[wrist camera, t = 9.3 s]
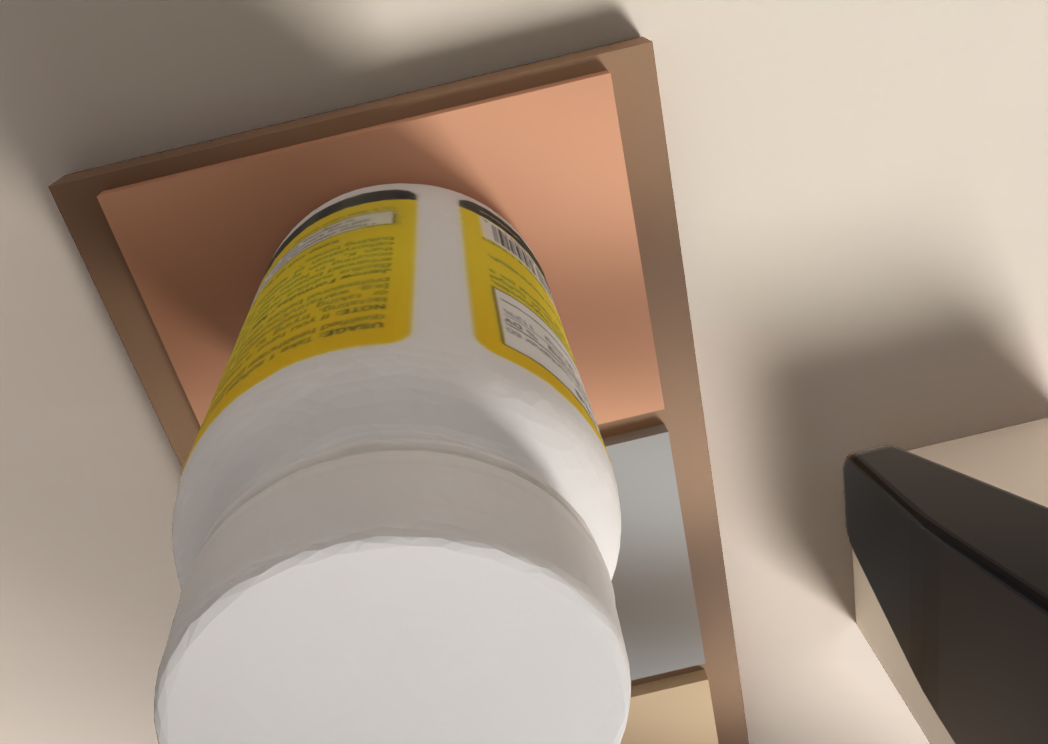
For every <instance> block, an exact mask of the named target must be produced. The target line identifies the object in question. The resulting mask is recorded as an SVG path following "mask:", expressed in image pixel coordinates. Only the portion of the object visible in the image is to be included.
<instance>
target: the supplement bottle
mask: <svg viewBox="0 0 1048 744" xmlns="http://www.w3.org/2000/svg"><path fill="white" fill-rule="evenodd" d="M172 538H173V554H174V560H175V565H176V570H177V574H178V578H179V582H180V585H181V589H182V593H181V597H180V602H179V605H178V608H177V611H176V614H175V617H174V620H173V624H172V627H171V631H170V635H169V638H168V642H167V645H166V648H165V651H164V654H163V657H162V661H161V664H160V667H159V670H158V676H157V681H156V687H155V698H154V722H155V729H156V734H157V738H158V743H159V744H620V742H621V739H622V737H623V734H624V731H625V727H626V723H627V719H628V714H629V707H630V698H631V678H630V668H629V660H628V656H627V652H626V648H625V643H624V639H623V635H622V631H621V627H620V622H619V618H618V614H617V610H616V605H615V595H614V590H613V585H612V582H611V581H612V578H613V575H614V572H615V569H616V565H617V560H618V555H619V550H620V539H621V510H620V503H619V496H618V489H617V483H616V479H615V476H614V472H613V468H612V464H611V461H610V459H609V456H608V453H607V450H606V447H605V445H604V442H603V439H602V437H601V434H600V431H599V428H598V425H597V423H596V420H595V417H594V414H593V411H592V408H591V406H590V403H589V400H588V397H587V394H586V391H585V388H584V386H583V383H582V380H581V377H580V375H579V372H578V369H577V366H576V363H575V360H574V358H573V354H572V352H571V349H570V346H569V343H568V340H567V337H566V335H565V332H564V329H563V326H562V323H561V320H560V317H559V315H558V312H557V309H556V306H555V304H554V301H553V298H552V296H551V292H550V289H549V286H548V283H547V281H546V278H545V275H544V272H543V270H542V268H541V266H540V264H539V262H538V260H537V258H536V257H535V255H534V253H533V252H532V250H531V249H530V247H529V246H528V244H527V243H526V241H525V240H524V239H523V238H522V236H521V235H520V234H519V233H518V232H517V231H516V230H515V229H514V228H513V227H512V226H511V225H510V224H509V223H508V222H507V221H506V220H505V219H504V218H503V217H501V216H500V215H499V214H497V213H496V212H494V211H493V210H492V209H490V208H489V207H487V206H486V205H484V204H482V203H480V202H478V201H476V200H475V199H473V198H470V197H468V196H466V195H464V194H461V193H458V192H455V191H452V190H449V189H445V188H441V187H437V186H431V185H424V184H407V183H395V184H384V185H375V186H370V187H366V188H361V189H357V190H354V191H351V192H348V193H345V194H343V195H341V196H338V197H336V198H334V199H332V200H330V201H328V202H327V203H325V204H323V205H322V206H320V207H319V208H317V209H315V210H314V211H312V212H311V213H310V214H309V215H307V216H306V217H305V218H304V219H303V220H302V221H301V222H299V223H298V224H297V225H296V226H295V227H294V228H293V229H292V230H291V232H290V233H289V234H288V235H287V237H286V238H285V239H284V240H283V242H282V243H281V245H280V246H279V248H278V249H277V251H276V253H275V254H274V256H273V258H272V260H271V262H270V264H269V265H268V267H267V269H266V272H265V274H264V276H263V279H262V281H261V284H260V286H259V289H258V291H257V293H256V295H255V298H254V300H253V303H252V305H251V308H250V310H249V313H248V315H247V317H246V320H245V322H244V324H243V327H242V329H241V331H240V334H239V336H238V339H237V341H236V344H235V346H234V349H233V351H232V354H231V356H230V358H229V361H228V363H227V365H226V368H225V370H224V372H223V375H222V377H221V379H220V382H219V384H218V387H217V389H216V392H215V394H214V397H213V399H212V402H211V404H210V406H209V409H208V411H207V414H206V416H205V418H204V421H203V423H202V425H201V427H200V430H199V432H198V434H197V436H196V439H195V442H194V445H193V447H192V449H191V451H190V454H189V456H188V458H187V460H186V463H185V465H184V468H183V471H182V475H181V478H180V482H179V486H178V491H177V497H176V502H175V508H174V515H173V526H172Z"/></svg>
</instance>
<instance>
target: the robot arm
mask: <svg viewBox="0 0 1048 744" xmlns="http://www.w3.org/2000/svg"><path fill="white" fill-rule="evenodd" d="M843 476H844V495H845V515H846V528H847V533H848V537H849V541H850V543H851V546H852V549H853V551H854V553H855V555H856V557H857V559H858V561H859V563H860V565H861V567H862V569H863V571H864V574H865V576H866V578H867V580H868V582H869V584H870V586H871V588H872V590H873V592H874V594H875V596H876V598H877V600H878V602H879V604H880V606H881V608H882V610H883V612H884V614H885V616H886V618H887V620H888V622H889V625H890V627H891V629H892V631H893V633H894V635H895V637H896V639H897V641H898V643H899V645H900V647H901V649H902V651H903V653H904V655H905V657H906V659H907V661H908V663H909V665H910V667H911V669H912V671H913V673H914V675H915V677H916V679H917V681H918V683H919V685H920V687H921V689H922V691H923V692H924V694H925V696H926V697H927V699H928V701H929V702H930V704H931V706H932V707H933V709H934V711H935V712H936V714H937V716H938V717H939V719H940V721H941V722H942V724H943V725H944V727H945V728H946V730H947V732H948V733H949V735H950V736H951V738H952V739H953V741H954V742H955V744H1048V507H1046V506H1043V505H1041V504H1038V503H1036V502H1033V501H1031V500H1028V499H1026V498H1023V497H1021V496H1018V495H1016V494H1013V493H1011V492H1008V491H1006V490H1003V489H1001V488H998V487H996V486H993V485H991V484H988V483H986V482H983V481H981V480H978V479H976V478H973V477H971V476H968V475H966V474H963V473H961V472H958V471H956V470H953V469H951V468H948V467H946V466H943V465H941V464H938V463H936V462H933V461H931V460H928V459H926V458H923V457H921V456H918V455H916V454H913V453H911V452H908V451H906V450H903V449H901V448H898V447H895V446H892V445H883V446H878V447H874V448H870V449H866V450H861V451H857V452H853V453H850V454H849V455H848V456H847V457H846V459H845V462H844V466H843Z"/></svg>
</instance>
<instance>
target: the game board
mask: <svg viewBox="0 0 1048 744" xmlns="http://www.w3.org/2000/svg"><path fill="white" fill-rule="evenodd" d="M395 183H407V184H424V185H431V186H437V187H441V188H445V189H449V190H452V191H455V192H458V193H461V194H464V195H466V196H468V197H470V198H473V199H475V200H476V201H478V202H480V203H482V204H484V205H486V206H487V207H489V208H490V209H492V210H493V211H494V212H496V213H497V214H499V215H500V216H501V217H503V218H504V219H505V220H506V221H507V222H508V223H509V224H510V225H511V226H512V227H513V228H514V229H515V230H516V231H517V232H518V233H519V234H520V235H521V236H522V238H523V239H524V240H525V241H526V243H527V244H528V246H529V247H530V249H531V250H532V252H533V253H534V255H535V257H536V258H537V260H538V262H539V264H540V266H541V268H542V270H543V272H544V275H545V278H546V281H547V283H548V286H549V289H550V292H551V296H552V298H553V301H554V304H555V306H556V309H557V312H558V315H559V317H560V320H561V323H562V326H563V329H564V332H565V335H566V337H567V340H568V343H569V346H570V349H571V352H572V354H573V358H574V360H575V363H576V366H577V369H578V372H579V375H580V377H581V380H582V383H583V386H584V388H585V391H586V394H587V397H588V400H589V403H590V406H591V408H592V411H593V414H594V417H595V420H596V423H597V425H598V428H599V431H600V434H601V437H602V439H603V442H604V445H605V447H606V450H607V453H608V456H609V459H610V461H611V464H612V468H613V472H614V476H615V479H616V483H617V489H618V496H619V503H620V510H621V539H620V550H619V555H618V560H617V565H616V569H615V572H614V575H613V578H612V581H611V582H612V585H613V590H614V595H615V605H616V610H617V614H618V618H619V622H620V627H621V631H622V635H623V639H624V643H625V648H626V652H627V656H628V660H629V668H630V678H631V698H630V707H629V714H628V719H627V723H626V727H625V731H624V734H623V737H622V739H621V742H620V744H749V742H748V735H747V728H746V720H745V713H744V706H743V698H742V691H741V684H740V677H739V669H738V662H737V655H736V647H735V640H734V633H733V626H732V618H731V611H730V604H729V597H728V589H727V582H726V575H725V567H724V560H723V553H722V546H721V538H720V531H719V524H718V516H717V509H716V502H715V495H714V487H713V480H712V473H711V465H710V458H709V451H708V444H707V436H706V429H705V422H704V415H703V407H702V400H701V393H700V385H699V378H698V371H697V364H696V356H695V349H694V342H693V334H692V327H691V320H690V313H689V305H688V298H687V291H686V284H685V276H684V269H683V262H682V254H681V247H680V240H679V233H678V225H677V218H676V211H675V203H674V196H673V189H672V182H671V174H670V167H669V160H668V153H667V145H666V138H665V131H664V123H663V116H662V109H661V102H660V94H659V87H658V80H657V72H656V65H655V58H654V51H653V43H652V41H650V40H648V39H646V38H644V37H639V38H634V39H630V40H626V41H622V42H618V43H614V44H610V45H605V46H601V47H597V48H593V49H589V50H585V51H580V52H576V53H572V54H568V55H564V56H560V57H555V58H551V59H547V60H543V61H539V62H535V63H531V64H526V65H522V66H518V67H514V68H510V69H506V70H501V71H497V72H493V73H489V74H485V75H481V76H476V77H472V78H468V79H464V80H460V81H456V82H451V83H447V84H443V85H439V86H435V87H431V88H427V89H422V90H418V91H414V92H410V93H406V94H402V95H397V96H393V97H389V98H385V99H381V100H377V101H372V102H368V103H364V104H360V105H356V106H352V107H348V108H343V109H339V110H335V111H331V112H327V113H323V114H318V115H314V116H310V117H306V118H302V119H298V120H293V121H289V122H285V123H281V124H277V125H273V126H268V127H264V128H260V129H256V130H252V131H248V132H244V133H239V134H235V135H231V136H227V137H223V138H219V139H214V140H210V141H206V142H202V143H198V144H194V145H189V146H185V147H181V148H177V149H173V150H169V151H165V152H160V153H156V154H152V155H148V156H144V157H140V158H135V159H131V160H127V161H123V162H119V163H115V164H110V165H106V166H102V167H98V168H94V169H90V170H86V171H81V172H77V173H73V174H69V175H65V176H64V177H62V178H61V179H59V180H58V181H56V182H55V183H53V184H52V185H50V186H49V189H50V191H51V193H52V195H53V197H54V199H55V202H56V204H57V206H58V208H59V210H60V212H61V214H62V216H63V218H64V220H65V223H66V225H67V227H68V229H69V231H70V233H71V235H72V237H73V239H74V241H75V244H76V246H77V248H78V250H79V252H80V254H81V256H82V258H83V260H84V262H85V265H86V267H87V269H88V271H89V273H90V275H91V277H92V279H93V281H94V284H95V286H96V288H97V290H98V292H99V294H100V296H101V298H102V300H103V302H104V305H105V307H106V309H107V311H108V313H109V315H110V317H111V319H112V321H113V323H114V326H115V328H116V330H117V332H118V334H119V336H120V338H121V340H122V342H123V344H124V347H125V349H126V351H127V353H128V355H129V357H130V359H131V361H132V363H133V365H134V368H135V370H136V372H137V374H138V376H139V378H140V380H141V382H142V384H143V386H144V389H145V391H146V393H147V395H148V397H149V399H150V401H151V403H152V405H153V408H154V410H155V412H156V414H157V416H158V418H159V420H160V422H161V424H162V426H163V429H164V431H165V433H166V435H167V437H168V439H169V441H170V443H171V445H172V447H173V450H174V452H175V454H176V456H177V458H178V460H179V462H180V464H181V466H182V468H184V465H185V463H186V460H187V458H188V456H189V454H190V451H191V449H192V447H193V445H194V442H195V439H196V436H197V434H198V432H199V430H200V427H201V425H202V423H203V421H204V418H205V416H206V414H207V411H208V409H209V406H210V404H211V402H212V399H213V397H214V394H215V392H216V389H217V387H218V384H219V382H220V379H221V377H222V375H223V372H224V370H225V368H226V365H227V363H228V361H229V358H230V356H231V354H232V351H233V349H234V346H235V344H236V341H237V339H238V336H239V334H240V331H241V329H242V327H243V324H244V322H245V320H246V317H247V315H248V313H249V310H250V308H251V305H252V303H253V300H254V298H255V295H256V293H257V291H258V289H259V286H260V284H261V281H262V279H263V276H264V274H265V272H266V269H267V267H268V265H269V264H270V262H271V260H272V258H273V256H274V254H275V253H276V251H277V249H278V248H279V246H280V245H281V243H282V242H283V240H284V239H285V238H286V237H287V235H288V234H289V233H290V232H291V230H292V229H293V228H294V227H295V226H296V225H297V224H298V223H299V222H301V221H302V220H303V219H304V218H305V217H306V216H307V215H309V214H310V213H311V212H312V211H314V210H315V209H317V208H319V207H320V206H322V205H323V204H325V203H327V202H328V201H330V200H332V199H334V198H336V197H338V196H341V195H343V194H345V193H348V192H351V191H354V190H357V189H361V188H366V187H370V186H375V185H384V184H395Z"/></svg>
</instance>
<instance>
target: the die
mask: <svg viewBox="0 0 1048 744" xmlns="http://www.w3.org/2000/svg"><path fill="white" fill-rule="evenodd" d="M908 452H911V453H913V454H916V455H918V456H921V457H923V458H926V459H928V460H931V461H933V462H936V463H938V464H941V465H943V466H946V467H948V468H951V469H953V470H956V471H958V472H961V473H963V474H966V475H968V476H971V477H973V478H976V479H978V480H981V481H983V482H986V483H988V484H991V485H993V486H996V487H998V488H1001V489H1003V490H1006V491H1008V492H1011V493H1013V494H1016V495H1018V496H1021V497H1023V498H1026V499H1028V500H1031V501H1033V502H1036V503H1038V504H1041V505H1043V506H1046V507H1048V418H1044V419H1039V420H1035V421H1031V422H1027V423H1022V424H1018V425H1014V426H1010V427H1006V428H1001V429H997V430H993V431H989V432H984V433H980V434H976V435H972V436H968V437H963V438H959V439H955V440H951V441H946V442H942V443H938V444H934V445H930V446H925V447H921V448H917V449H913V450H908ZM852 554H853V574H854V593H855V613H856V624H857V626H858V627H859V629H860V631H861V632H862V634H863V635H864V637H865V639H866V640H867V642H868V644H869V645H870V647H871V648H872V650H873V652H874V653H875V655H876V657H877V658H878V660H879V661H880V663H881V665H882V666H883V668H884V669H885V671H886V673H887V674H888V676H889V678H890V679H891V681H892V682H893V684H894V686H895V687H896V689H897V691H898V692H899V694H900V695H901V697H902V699H903V700H904V702H905V704H906V705H907V707H908V708H909V710H910V712H911V713H912V715H913V716H914V718H915V720H916V721H917V723H918V725H919V726H920V728H921V729H922V731H923V733H924V734H925V736H926V738H927V739H928V741H929V742H930V744H955V742H954V741H953V739H952V738H951V736H950V735H949V733H948V732H947V730H946V728H945V727H944V725H943V724H942V722H941V721H940V719H939V717H938V716H937V714H936V712H935V711H934V709H933V707H932V706H931V704H930V702H929V701H928V699H927V697H926V696H925V694H924V692H923V691H922V689H921V687H920V685H919V683H918V681H917V679H916V677H915V675H914V673H913V671H912V669H911V667H910V665H909V663H908V661H907V659H906V657H905V655H904V653H903V651H902V649H901V647H900V645H899V643H898V641H897V639H896V637H895V635H894V633H893V631H892V629H891V627H890V625H889V622H888V620H887V618H886V616H885V614H884V612H883V610H882V608H881V606H880V604H879V602H878V600H877V598H876V596H875V594H874V592H873V590H872V588H871V586H870V584H869V582H868V580H867V578H866V576H865V574H864V571H863V569H862V567H861V565H860V563H859V561H858V559H857V557H856V555H855V553H854V551H853V549H852Z"/></svg>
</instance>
